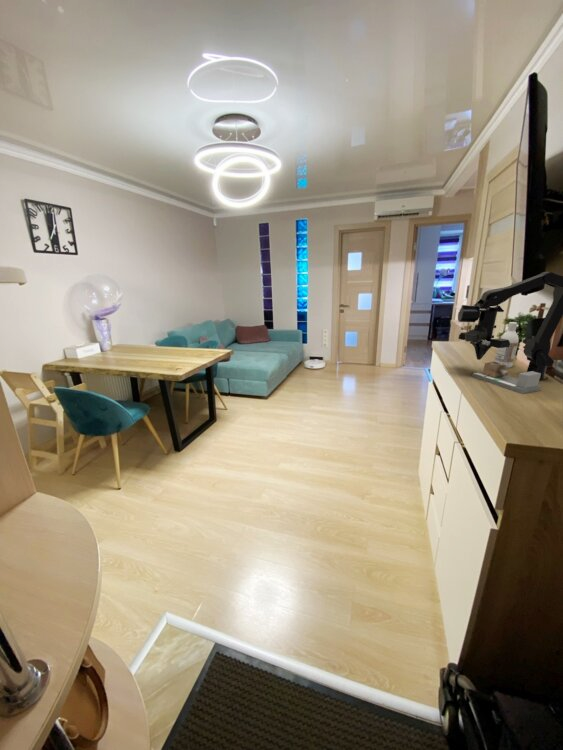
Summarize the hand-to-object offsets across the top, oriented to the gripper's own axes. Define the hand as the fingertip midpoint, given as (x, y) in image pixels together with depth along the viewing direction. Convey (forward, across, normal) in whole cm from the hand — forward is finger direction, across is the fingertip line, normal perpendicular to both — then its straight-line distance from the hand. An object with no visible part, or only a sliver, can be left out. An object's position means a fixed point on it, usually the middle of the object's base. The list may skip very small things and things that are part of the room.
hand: (478, 359), depth 130 cm
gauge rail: (+6, +12, 0) cm, 14 cm away
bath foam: (+6, -4, +22) cm, 23 cm away
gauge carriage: (+5, +9, -1) cm, 10 cm away
